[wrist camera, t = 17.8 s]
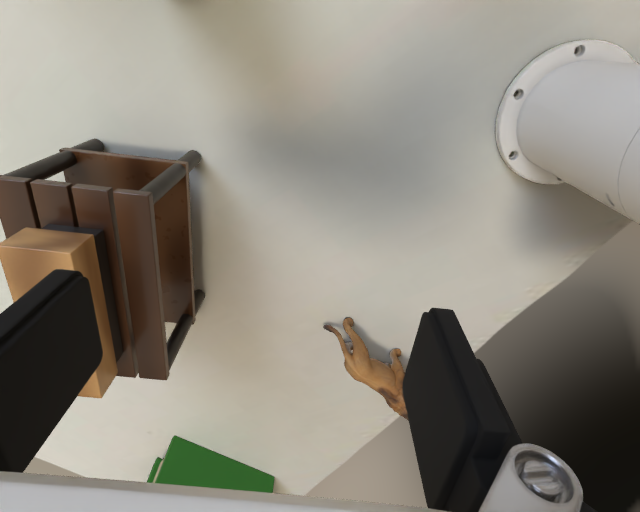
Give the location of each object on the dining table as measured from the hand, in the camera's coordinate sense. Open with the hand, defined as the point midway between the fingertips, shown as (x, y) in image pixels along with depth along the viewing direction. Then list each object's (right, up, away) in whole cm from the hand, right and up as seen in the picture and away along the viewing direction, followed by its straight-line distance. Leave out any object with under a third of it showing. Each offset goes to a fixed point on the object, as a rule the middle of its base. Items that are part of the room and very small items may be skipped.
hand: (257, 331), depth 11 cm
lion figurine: (+9, -9, +40) cm, 42 cm away
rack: (-17, +5, +32) cm, 36 cm away
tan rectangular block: (-17, -1, +21) cm, 27 cm away
